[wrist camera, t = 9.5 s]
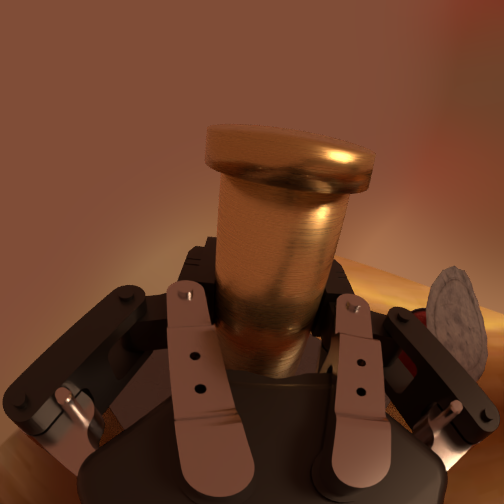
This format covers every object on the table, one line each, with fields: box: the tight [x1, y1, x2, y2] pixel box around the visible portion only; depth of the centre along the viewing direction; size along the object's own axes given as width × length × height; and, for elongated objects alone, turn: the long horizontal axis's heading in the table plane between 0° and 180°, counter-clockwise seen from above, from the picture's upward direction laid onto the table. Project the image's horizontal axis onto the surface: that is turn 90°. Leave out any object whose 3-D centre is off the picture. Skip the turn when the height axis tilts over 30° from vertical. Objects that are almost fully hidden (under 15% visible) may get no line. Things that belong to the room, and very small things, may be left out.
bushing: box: [205, 124, 376, 379], centre depth 11 cm, size 5×5×14 cm
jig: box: [109, 334, 391, 430], centre depth 15 cm, size 14×14×3 cm
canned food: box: [398, 266, 488, 382], centre depth 19 cm, size 11×10×10 cm
